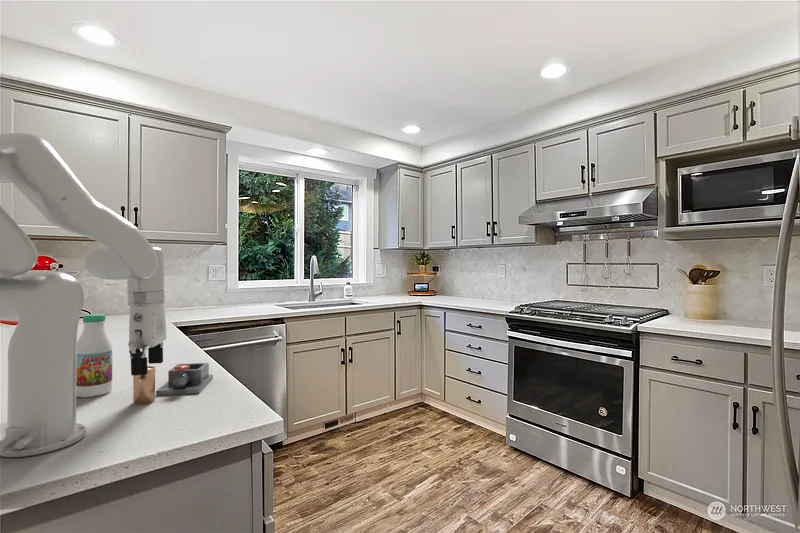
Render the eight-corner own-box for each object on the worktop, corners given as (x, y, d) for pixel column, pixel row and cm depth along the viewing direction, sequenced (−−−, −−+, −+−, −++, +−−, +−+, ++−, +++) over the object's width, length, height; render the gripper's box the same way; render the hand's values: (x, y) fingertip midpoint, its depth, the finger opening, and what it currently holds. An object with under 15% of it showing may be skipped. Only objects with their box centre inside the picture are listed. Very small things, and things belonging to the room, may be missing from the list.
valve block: (199, 393, 104) (199, 368, 104) (156, 395, 102) (156, 370, 102) (212, 378, 118) (212, 356, 118) (175, 380, 116) (175, 357, 115)
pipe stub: (150, 404, 95) (151, 370, 95) (129, 405, 95) (130, 371, 95) (157, 398, 100) (158, 366, 100) (137, 399, 99) (138, 366, 99)
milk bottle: (67, 395, 101) (68, 315, 101) (102, 387, 108) (103, 312, 108) (83, 400, 98) (84, 317, 98) (118, 391, 105) (119, 314, 105)
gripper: (149, 302, 90) (150, 379, 90) (175, 294, 107) (176, 358, 107) (111, 303, 88) (113, 381, 89) (144, 294, 105) (145, 359, 106)
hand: (148, 368), depth 98 cm, fingers open, 9 cm apart
